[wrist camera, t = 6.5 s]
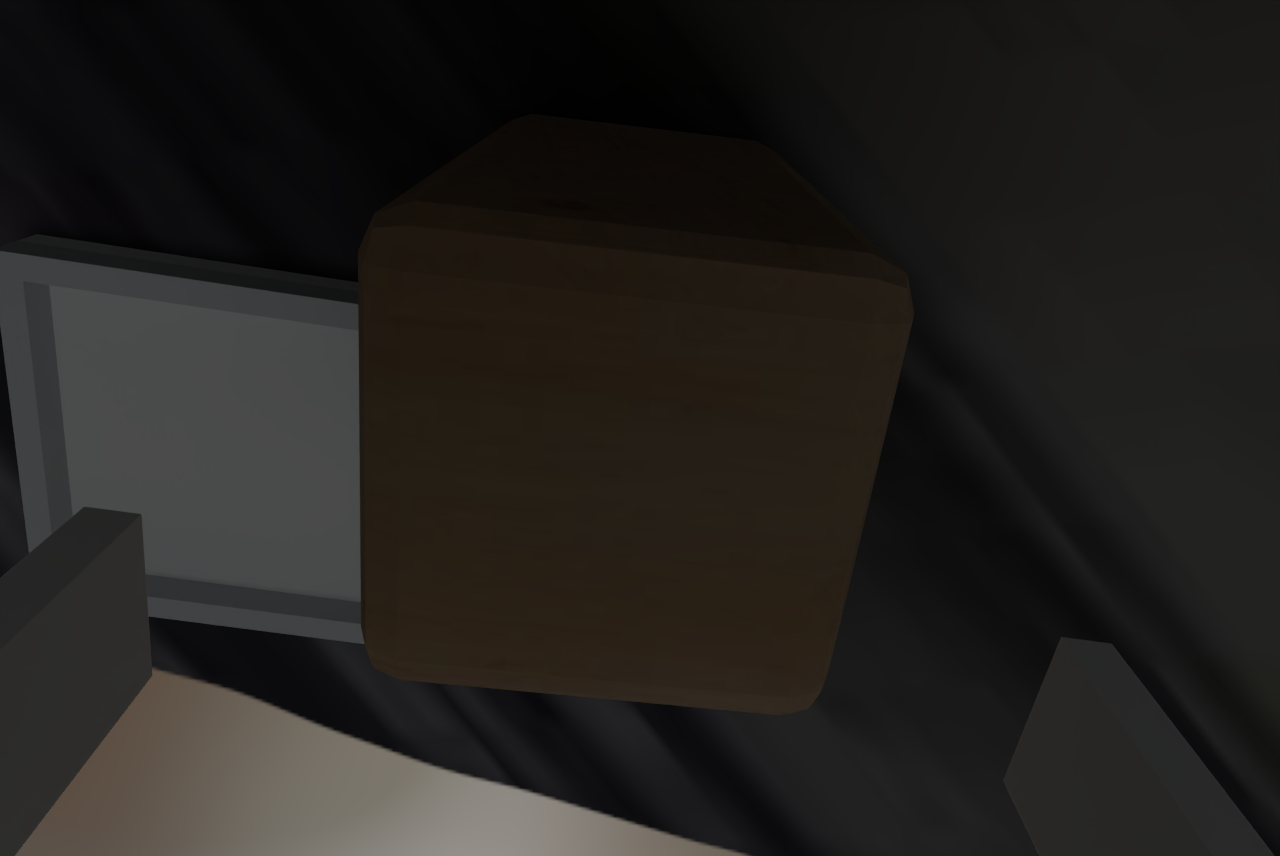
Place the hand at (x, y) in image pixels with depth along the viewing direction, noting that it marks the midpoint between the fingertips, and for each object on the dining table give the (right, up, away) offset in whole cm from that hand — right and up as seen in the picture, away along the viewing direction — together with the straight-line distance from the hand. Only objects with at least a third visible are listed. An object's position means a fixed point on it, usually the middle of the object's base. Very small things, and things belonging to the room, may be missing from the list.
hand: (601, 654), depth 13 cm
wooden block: (0, +10, +22) cm, 24 cm away
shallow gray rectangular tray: (-15, +3, +25) cm, 30 cm away
